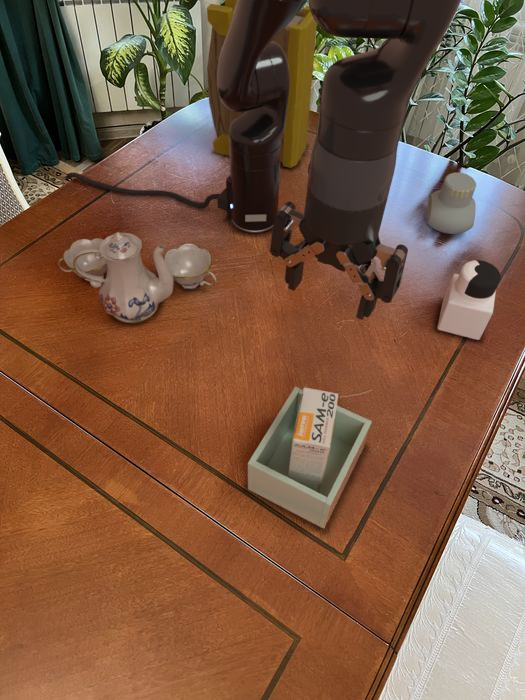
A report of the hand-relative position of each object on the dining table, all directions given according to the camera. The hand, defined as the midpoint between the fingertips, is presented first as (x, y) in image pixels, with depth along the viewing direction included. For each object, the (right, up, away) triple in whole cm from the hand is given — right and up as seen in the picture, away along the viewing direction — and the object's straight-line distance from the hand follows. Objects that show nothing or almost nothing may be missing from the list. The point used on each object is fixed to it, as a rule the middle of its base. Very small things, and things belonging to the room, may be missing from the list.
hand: (327, 299), depth 65 cm
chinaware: (-30, +4, +36) cm, 47 cm away
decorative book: (-8, +40, +64) cm, 76 cm away
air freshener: (+29, +20, +49) cm, 61 cm away
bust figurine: (+27, -1, +33) cm, 43 cm away
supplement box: (-1, -22, +15) cm, 27 cm away
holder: (-1, -23, +16) cm, 28 cm away
